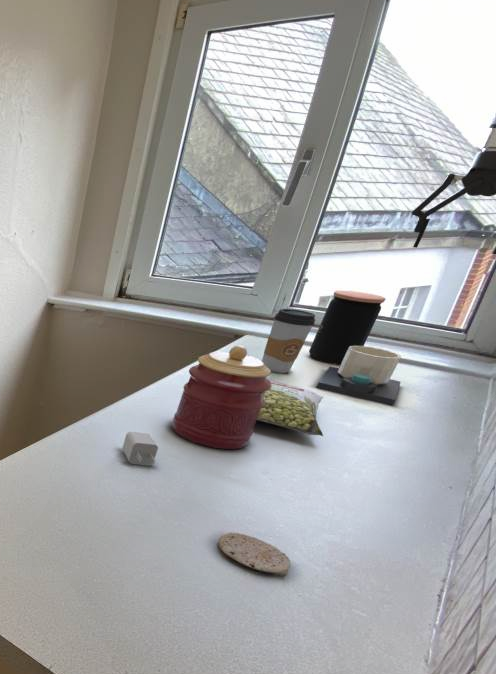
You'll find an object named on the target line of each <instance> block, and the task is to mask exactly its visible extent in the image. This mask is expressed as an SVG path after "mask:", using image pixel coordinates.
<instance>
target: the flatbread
mask: <svg viewBox="0 0 496 674" xmlns="http://www.w3.org/2000/svg"><path fill="white" fill-rule="evenodd" d="M218 545H219V547H220V549H221V551H222V553H223V554H225V555H226V556H227V557H229V558H231V559H232V560H234V561H236V562H238V563H239V564H241V565H243V566H245V567H249V568H251V569H253V570H256V571H259V572H263V573H268V574H269V573H271V574H282V575H284V574H287V573H288V572H289V570H290V568H291V561H290V558H289V556H288V555H287V554H286V553H285V552H283V551H281V550H280V549H279V548H277V547H275V546H274V545H272V544H271V543H269V542H265V541H264V540H262V539H259V538H257V537H254V536H251V535H247V534H244V533H238V532H229V533H226V534H223V535H222V536H221V537H219V539H218Z"/></svg>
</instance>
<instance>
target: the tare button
mask: <svg viewBox="0 0 496 674" xmlns="http://www.w3.org/2000/svg"><path fill="white" fill-rule="evenodd" d="M370 380H371V377H369V376H366V375H362V374H354V375H353V377H352V380H351V381H352V382H355V383H358V384H364V385H369V382H370Z"/></svg>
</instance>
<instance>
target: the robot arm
mask: <svg viewBox="0 0 496 674" xmlns="http://www.w3.org/2000/svg"><path fill="white" fill-rule="evenodd" d="M479 149H480V150H481V151H478V152H477V153H476V154H475V157H474V158H473V161H472V162H471V165H470V167H469V170H468V171H467V173H466V174H465V175H461V174H455V173H449V174H447V176H446V177H445V180H444V181H443V183H442V184H441V185H440V186H439V187H437V188H436V189H435V190H434V191H433V192H432V193H431V194H430V195H428V196H427V197H426V198H425V199H424V200H423V201H422V202H421V203H420V204H418V206H416V207H415V208H414V209H413V210H412V211H411V215H413V216H415V217H418V221H417V222H416V224H415V228H414V230H413V232H414V233H417V234H418V235H417V236H416V239H415V241H414V244H413V246H412V248H415V249H416V248H418V247H419V244H420V243H421V240H422V238H423V236H424V234H425V232H426V229H427V227H428V225H429V222H430V221H431V218H428V217H430V216H432V215H433V214H435V213H437V212H438V211H439V210H441V209H443V208H444V207H446V206H447V205H449V204H451V203H453V202H454V201H456V200H457V199H459V198H461V197H463V196H465V195H466V194H467V195H468V196H470V197H477V196H482V197H488V198H489V197H494V196H496V113H495V115H494V116H493V118H492V121H491V123H490V125H489V127H488V129H487V131H486V133H485V135H484V137H483V140H482V141H481V143H480V146H479ZM459 181H461V184H462V187H463V188H461V189H460V190H458V191H456V192H455V193H453V194H452V195H450V196H449V197H447V198H445V199H444V200H442V201H440V202H438V203H437V204H435V205H434V206H433V207H430V208H428V209H427V210H426V211H423V210H424V209H425V208H426V207H427V206H429V204H431V203H432V202H433V201H434V200H435V199H436V198H437V197H438V196H439V195H441V194H442V193H443V192H444V191H446V189H447V188H448V187H449V186H450V185H456V184H457V182H459ZM491 255H496V245H495V246H494V248H493V250H492V251H491Z"/></svg>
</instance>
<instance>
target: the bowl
mask: <svg viewBox="0 0 496 674" xmlns="http://www.w3.org/2000/svg"><path fill="white" fill-rule="evenodd" d="M401 357H402V355H400V353H397V352H393V351H390V350H387V349H383V348H378V347H373V346H366V345H364V346H349V348H348V350H347V352H346V355H345V357H344V359H343V361H342V363H341V365H340V366H339V367H338V368H339V370H338V373H339V374H340V375H341V376H342V377H353V375H354V374H362V375H366V376H369V377H371V380H370V381H371V382H373V383H375V384H377V385H380V384H385V383H388V382H389V380H390V379H391V377H392V376H393V374H394V371H395V370H396V368H397V366H398V364H399V362H400V360H401Z"/></svg>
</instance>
